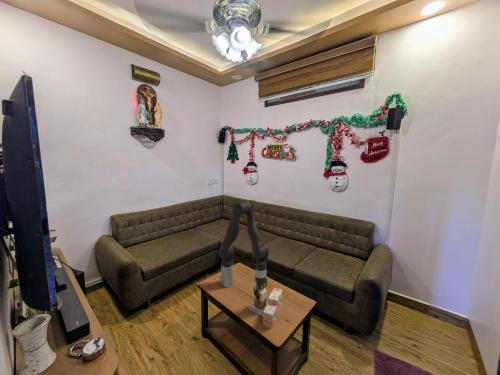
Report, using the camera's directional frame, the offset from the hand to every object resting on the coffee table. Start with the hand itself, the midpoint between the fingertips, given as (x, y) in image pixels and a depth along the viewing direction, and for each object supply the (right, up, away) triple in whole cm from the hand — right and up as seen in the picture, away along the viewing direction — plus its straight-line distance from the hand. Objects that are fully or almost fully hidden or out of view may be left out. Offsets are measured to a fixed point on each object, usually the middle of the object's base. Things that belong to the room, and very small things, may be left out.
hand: (260, 296), depth 142 cm
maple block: (0, -1, 0) cm, 1 cm away
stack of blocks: (+8, -10, -4) cm, 13 cm away
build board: (0, -8, +2) cm, 8 cm away
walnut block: (0, -7, +1) cm, 7 cm away
